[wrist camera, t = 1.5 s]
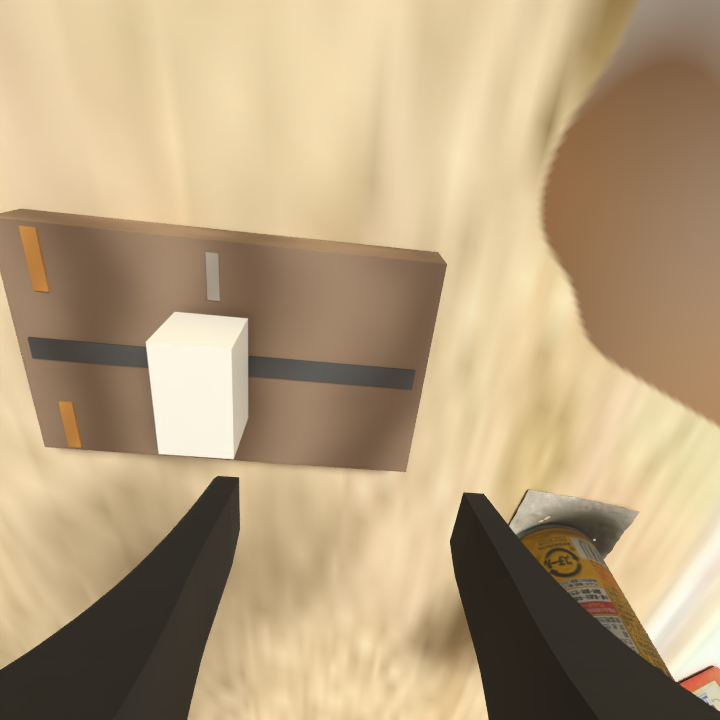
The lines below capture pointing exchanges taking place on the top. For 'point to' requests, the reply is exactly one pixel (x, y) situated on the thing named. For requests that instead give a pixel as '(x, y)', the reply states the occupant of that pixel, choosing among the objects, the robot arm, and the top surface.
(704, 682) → the cracker box
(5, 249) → the fader board
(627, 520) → the condiment
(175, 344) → the fader tab
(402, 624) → the top surface
